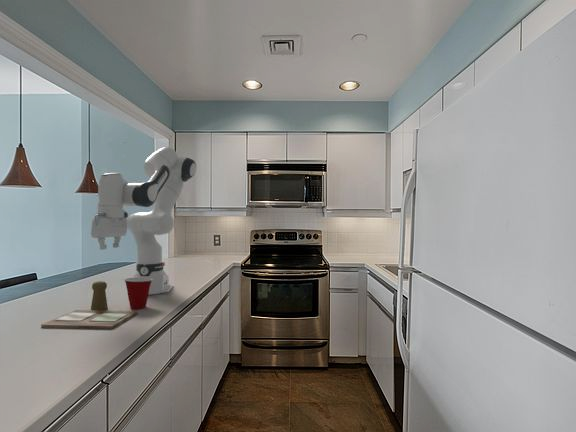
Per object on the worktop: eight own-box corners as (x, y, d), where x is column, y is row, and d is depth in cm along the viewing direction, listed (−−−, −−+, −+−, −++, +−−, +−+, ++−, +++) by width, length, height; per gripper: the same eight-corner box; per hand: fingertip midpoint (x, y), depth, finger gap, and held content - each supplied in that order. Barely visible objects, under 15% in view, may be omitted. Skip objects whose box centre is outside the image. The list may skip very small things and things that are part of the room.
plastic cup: (158, 305, 146) (158, 276, 146) (140, 312, 135) (141, 281, 135) (136, 303, 148) (136, 275, 148) (117, 309, 138) (117, 279, 138)
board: (76, 312, 134) (76, 309, 134) (137, 313, 133) (137, 310, 133) (41, 327, 116) (41, 323, 116) (111, 329, 115) (112, 325, 115)
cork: (100, 312, 135) (100, 283, 135) (86, 310, 136) (87, 282, 136) (111, 307, 141) (111, 280, 141) (98, 307, 142) (98, 280, 142)
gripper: (103, 213, 127) (102, 250, 127) (130, 213, 148) (129, 246, 148) (86, 212, 127) (85, 250, 127) (115, 213, 148) (115, 246, 148)
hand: (109, 248), depth 138 cm, fingers open, 8 cm apart
